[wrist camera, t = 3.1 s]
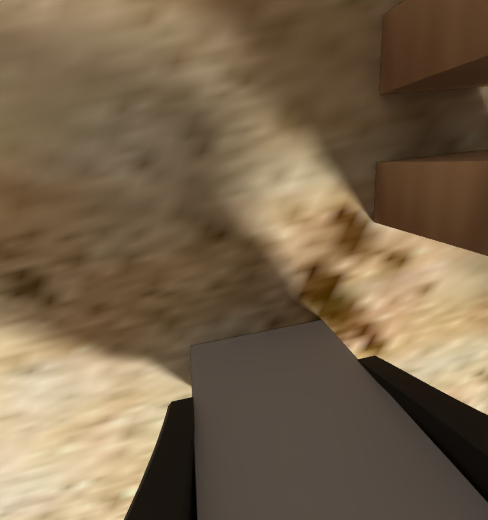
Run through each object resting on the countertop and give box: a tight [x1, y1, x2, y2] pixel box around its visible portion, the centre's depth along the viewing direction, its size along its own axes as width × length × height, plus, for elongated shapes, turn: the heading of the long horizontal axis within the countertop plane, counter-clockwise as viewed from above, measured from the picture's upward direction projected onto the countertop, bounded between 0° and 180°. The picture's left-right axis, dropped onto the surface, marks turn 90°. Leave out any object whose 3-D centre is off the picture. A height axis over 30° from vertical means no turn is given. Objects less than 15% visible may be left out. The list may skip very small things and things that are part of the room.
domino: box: [190, 320, 488, 520], centre depth 7 cm, size 2×5×9 cm, turn 96°
